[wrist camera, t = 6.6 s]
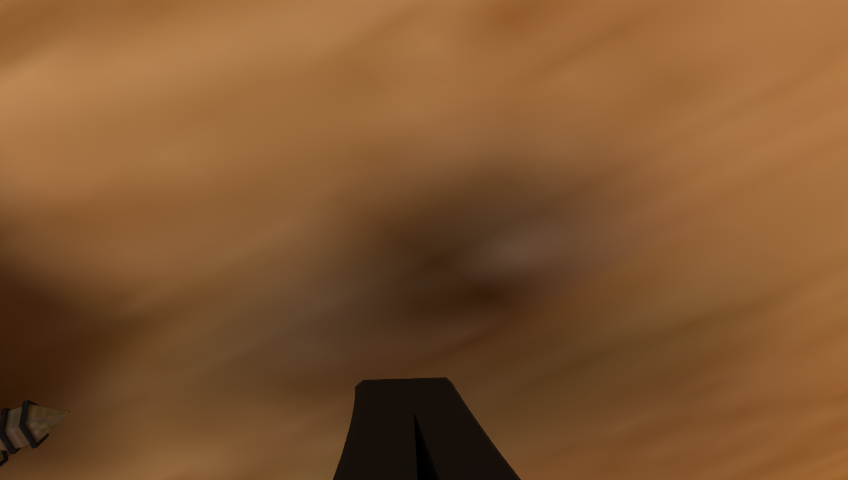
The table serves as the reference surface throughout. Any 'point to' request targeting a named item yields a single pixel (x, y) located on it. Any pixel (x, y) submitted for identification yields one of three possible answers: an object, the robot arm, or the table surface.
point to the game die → (26, 427)
